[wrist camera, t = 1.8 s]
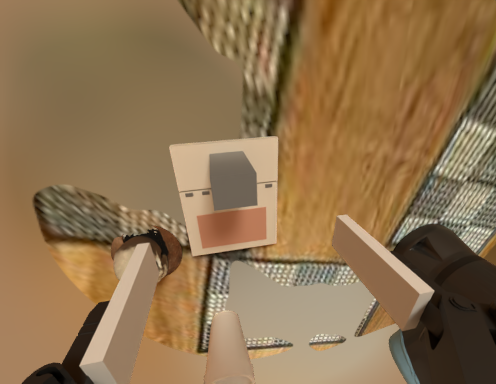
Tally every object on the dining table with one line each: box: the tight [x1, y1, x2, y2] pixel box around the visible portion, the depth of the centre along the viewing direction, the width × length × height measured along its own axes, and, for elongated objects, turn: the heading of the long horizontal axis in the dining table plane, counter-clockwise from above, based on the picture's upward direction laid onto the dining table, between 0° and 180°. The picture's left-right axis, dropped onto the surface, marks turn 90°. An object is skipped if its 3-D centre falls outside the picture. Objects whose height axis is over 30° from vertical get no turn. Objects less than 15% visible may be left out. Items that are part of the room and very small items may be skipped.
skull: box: [111, 225, 182, 283], centre depth 36 cm, size 12×10×10 cm
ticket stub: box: [169, 136, 278, 211], centre depth 28 cm, size 7×16×12 cm, turn 93°
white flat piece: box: [179, 181, 277, 256], centre depth 37 cm, size 13×16×2 cm
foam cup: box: [204, 311, 255, 384], centre depth 43 cm, size 10×9×13 cm
